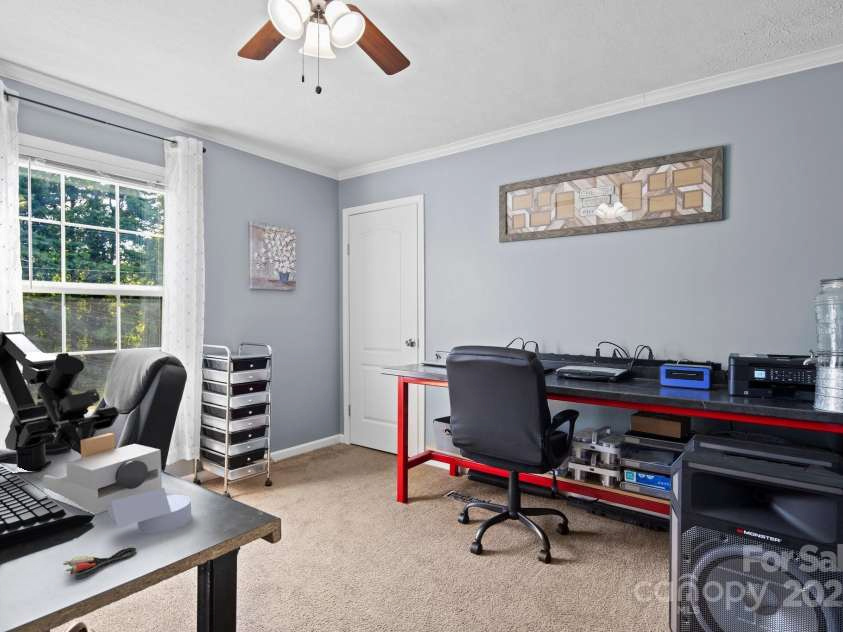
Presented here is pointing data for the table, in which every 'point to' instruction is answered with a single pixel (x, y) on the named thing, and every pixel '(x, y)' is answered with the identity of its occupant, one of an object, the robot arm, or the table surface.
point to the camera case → (109, 477)
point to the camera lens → (53, 447)
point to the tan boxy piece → (97, 445)
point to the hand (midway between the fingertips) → (86, 454)
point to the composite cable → (96, 562)
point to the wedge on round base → (151, 511)
